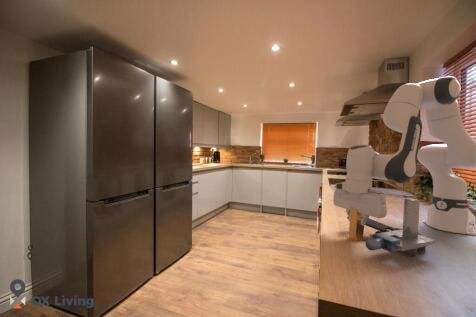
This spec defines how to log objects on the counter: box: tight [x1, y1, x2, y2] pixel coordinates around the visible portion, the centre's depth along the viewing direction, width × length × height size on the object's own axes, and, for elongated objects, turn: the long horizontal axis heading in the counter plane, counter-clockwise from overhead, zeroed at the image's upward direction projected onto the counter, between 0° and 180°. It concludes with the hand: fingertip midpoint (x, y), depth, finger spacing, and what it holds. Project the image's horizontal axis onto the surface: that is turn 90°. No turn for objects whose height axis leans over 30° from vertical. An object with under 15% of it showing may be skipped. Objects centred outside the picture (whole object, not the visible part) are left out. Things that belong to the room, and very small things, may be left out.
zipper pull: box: [346, 216, 427, 254], centre depth 83 cm, size 9×7×25 cm
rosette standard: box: [364, 197, 437, 258], centre depth 68 cm, size 23×10×18 cm, turn 112°
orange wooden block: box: [348, 207, 365, 242], centre depth 83 cm, size 4×3×12 cm
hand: (356, 223), depth 83 cm, fingers open, 3 cm apart
